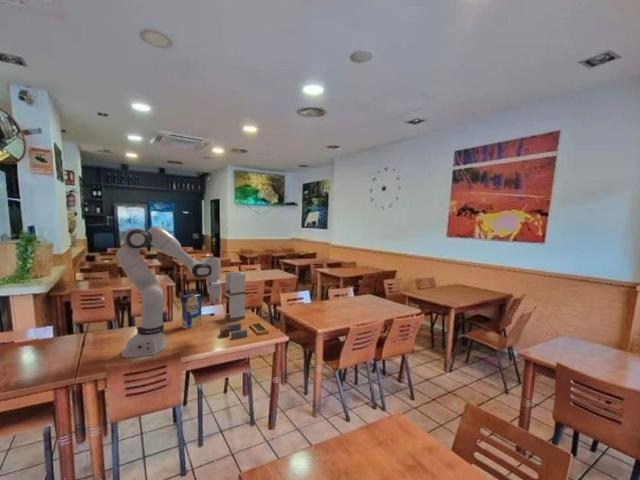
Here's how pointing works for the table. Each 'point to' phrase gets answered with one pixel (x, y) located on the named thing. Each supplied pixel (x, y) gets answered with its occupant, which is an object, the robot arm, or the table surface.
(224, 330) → the walnut block
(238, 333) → the grey parallel walls
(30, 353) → the table surface
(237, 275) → the grey toy tower
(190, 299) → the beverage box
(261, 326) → the tray
